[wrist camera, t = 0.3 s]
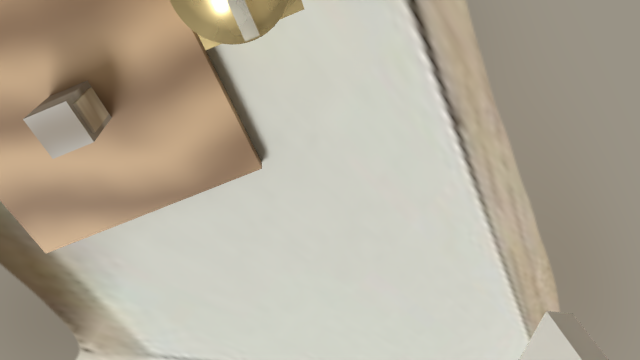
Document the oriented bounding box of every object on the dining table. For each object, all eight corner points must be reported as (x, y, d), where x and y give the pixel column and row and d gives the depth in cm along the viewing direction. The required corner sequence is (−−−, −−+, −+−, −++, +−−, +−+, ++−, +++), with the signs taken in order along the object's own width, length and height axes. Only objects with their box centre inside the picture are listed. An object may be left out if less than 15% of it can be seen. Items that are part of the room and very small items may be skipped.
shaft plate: (-135, 26, 29) (-204, 46, 25) (133, -94, 28) (109, -96, 23) (50, 245, 38) (23, 288, 34) (261, 162, 36) (262, 196, 32)
